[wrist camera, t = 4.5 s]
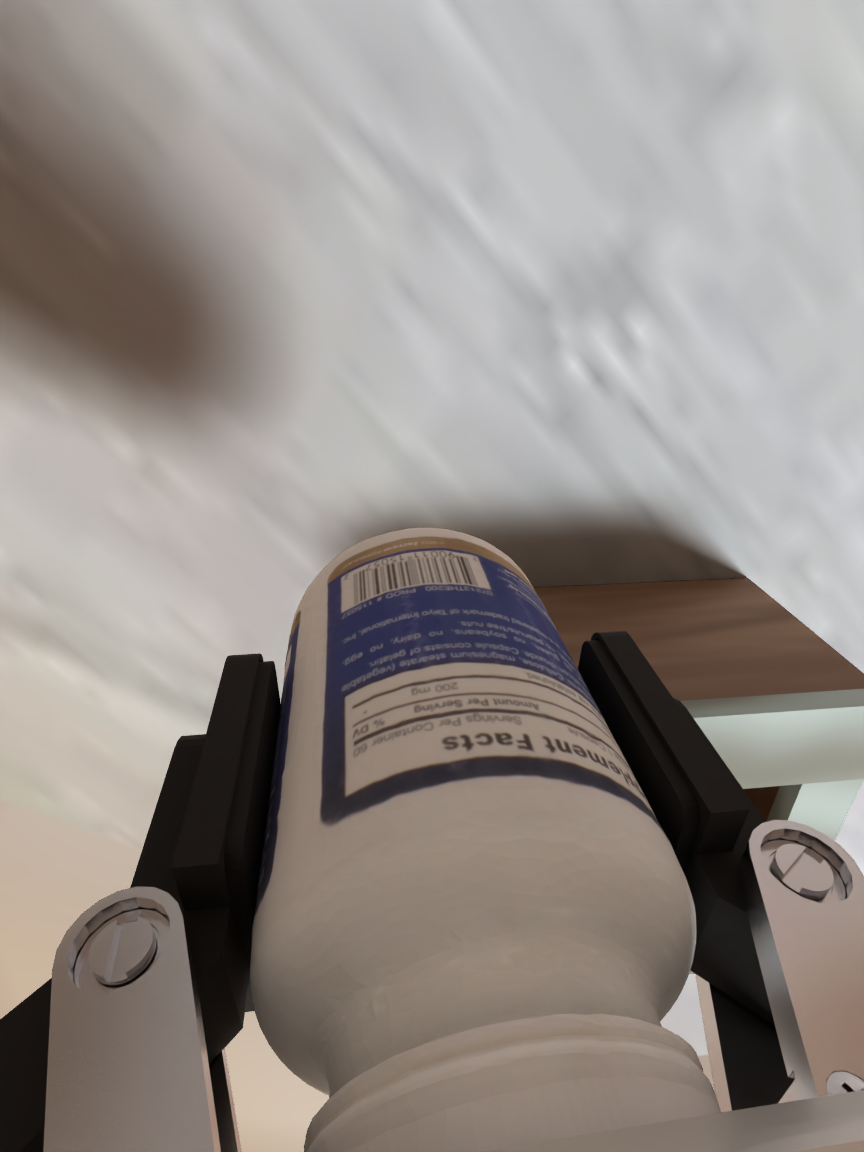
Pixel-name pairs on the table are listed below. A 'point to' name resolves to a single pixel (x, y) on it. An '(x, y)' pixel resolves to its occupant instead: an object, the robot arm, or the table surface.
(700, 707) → the box
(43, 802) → the table surface
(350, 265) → the table surface
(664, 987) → the pill bottle
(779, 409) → the table surface
